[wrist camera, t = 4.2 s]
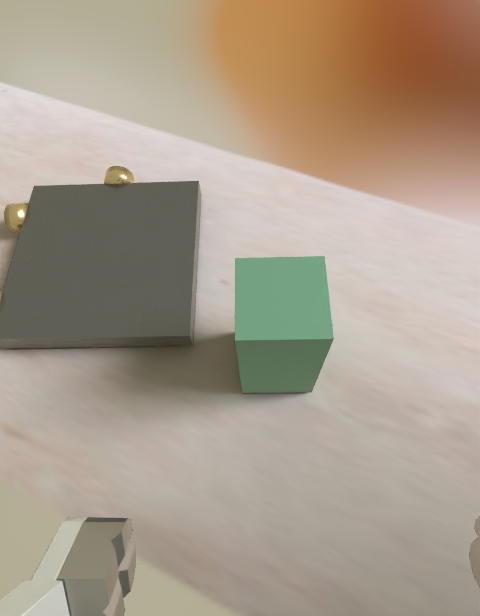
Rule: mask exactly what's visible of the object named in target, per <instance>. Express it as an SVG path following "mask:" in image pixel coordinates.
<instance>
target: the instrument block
mask: <svg viewBox="0 0 480 616" xmlns="http://www.w3.org/2000/svg"><path fill="white" fill-rule="evenodd" d="M333 339H334V338H333V329H332V320H331V311H330V302H329V293H328V284H327V275H326V266H325V258H324V256H315V257H274V258H235V345H236V352H237V360H238V367H239V374H240V381H241V388H242V393H287V392H312V390H313V387H314V385H315V382H316V380H317V378H318V375H319V373H320V370H321V368H322V366H323V363H324V361H325V358H326V356H327V354H328V351H329V349H330V346H331V344H332V342H333Z"/></svg>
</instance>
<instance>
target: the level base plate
mask: <svg viewBox="0 0 480 616" xmlns="http://www.w3.org/2000/svg"><path fill="white" fill-rule="evenodd" d="M133 181H134V177H133V174H132V173H131V172H130V171H129V170H128V169H126V168H124V167H121V166H113V167H110V168H108V169H107V171H106V175H105V181H104V184H86V185H53V186H34V188H33V191H32V194H31V198H30V201H29V204H28V203H22V204H8V205H7V206H6V208H5V212H4V218H5V222H6V225H7V227H8V229H9V230H10V231H11V232H13V233H20V235H19V238H18V241H17V245H16V248H15V252H14V255H13V258H12V262H11V265H10V268H9V272H8V275H7V279H6V282H5V285H4V289H3V290H0V347H1V348H2V349H4V348H66V347H127V346H188V345H193V341H194V322H195V304H196V285H197V266H198V248H199V229H200V211H201V191H200V185H199V181H184V182H151V183H133Z"/></svg>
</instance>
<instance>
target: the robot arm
mask: <svg viewBox="0 0 480 616" xmlns="http://www.w3.org/2000/svg"><path fill="white" fill-rule="evenodd" d="M474 530H475V532H476V533H477V535H478V536H479V537H478V538H477V539H476V540H474V541H473V542H472V543H471V547H470V554H469V557H470V563H471V569H472V572H473V574H474V577H475V580H476V581H477V583H478V585H479V587H480V516H479V517H478V518H477V519H476V521H475V525H474ZM132 532H133V529H132V523H131V520H130V519H128V518H91V517H88V518H70V517H67V518H66V519H65V520H64V521H63V522H62V523H61V525H60V527H59V529H58V531H57V532H56V534H55V536H54V538H53V540H52V542H51V543H50V545H49V547H48V549H47V551H46V553H45V555H44V557H43V558H42V560H41V562H40V564H39V566H38V568H37V569H36V571H35V573H34V575H33V577H32V579H31V580H30V581H23V582H22V583H20V584H19V585H18V586H17V587H15V588H14V589H13V590H12V591H10V592H9V593H8V594H7V595H5V596H4V597H3V598H1V599H0V616H124V612H125V608H124V601H123V598H124V597H125V596H126V595H127V594H128V593H129V592H130V591H131V587H132V583H133V580H134V573H135V566H136V551H135V545H134V544H133V543H132V542H131V541H130V538H131V535H132Z"/></svg>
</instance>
